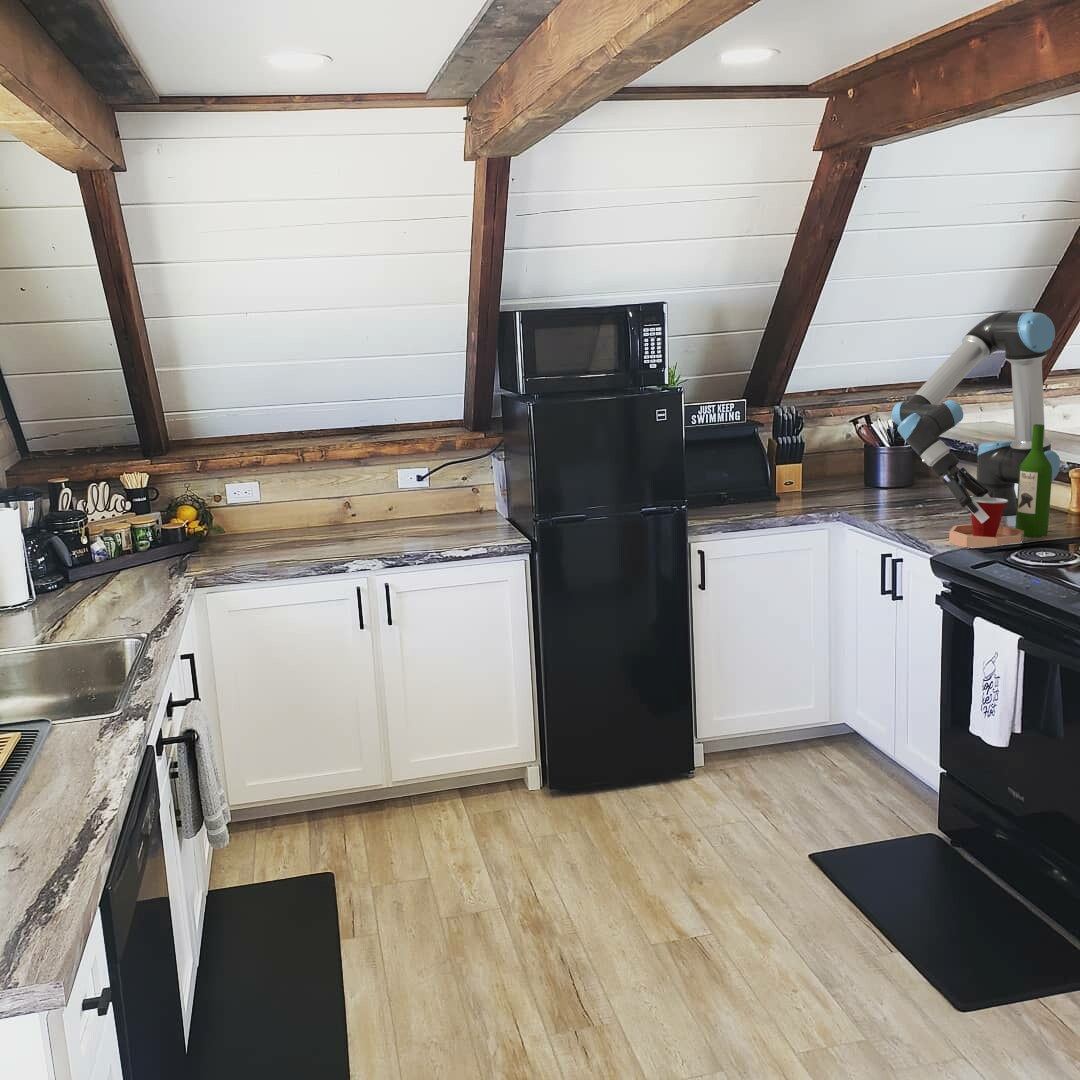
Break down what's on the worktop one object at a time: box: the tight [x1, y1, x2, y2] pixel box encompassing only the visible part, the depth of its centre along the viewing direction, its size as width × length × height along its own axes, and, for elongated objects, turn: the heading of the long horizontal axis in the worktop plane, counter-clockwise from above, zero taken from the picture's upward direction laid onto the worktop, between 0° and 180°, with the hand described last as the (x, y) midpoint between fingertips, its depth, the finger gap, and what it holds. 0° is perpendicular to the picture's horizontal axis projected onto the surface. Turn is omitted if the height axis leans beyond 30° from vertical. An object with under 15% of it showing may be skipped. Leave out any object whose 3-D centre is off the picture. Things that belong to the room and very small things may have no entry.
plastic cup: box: [970, 496, 1008, 538], centre depth 322 cm, size 11×11×12 cm
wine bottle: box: [1014, 424, 1053, 538], centre depth 329 cm, size 9×9×32 cm
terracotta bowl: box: [948, 523, 1024, 548], centre depth 323 cm, size 19×19×4 cm
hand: (992, 517), depth 321 cm, fingers open, 11 cm apart
